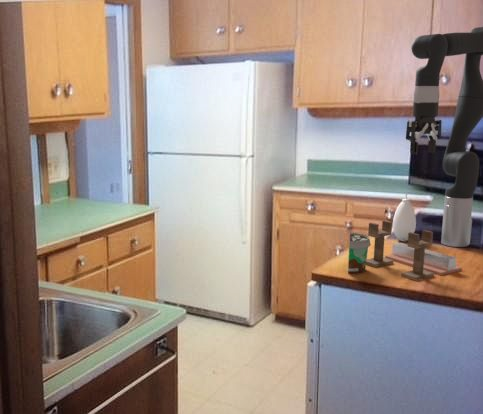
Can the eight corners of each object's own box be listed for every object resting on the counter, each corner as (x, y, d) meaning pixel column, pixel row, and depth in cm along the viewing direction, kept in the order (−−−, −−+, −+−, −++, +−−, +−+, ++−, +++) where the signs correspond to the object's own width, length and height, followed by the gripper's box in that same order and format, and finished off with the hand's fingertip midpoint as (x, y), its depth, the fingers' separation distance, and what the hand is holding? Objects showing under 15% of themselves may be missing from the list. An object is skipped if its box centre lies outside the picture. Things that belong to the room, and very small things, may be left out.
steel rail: (399, 252, 178) (400, 242, 178) (455, 269, 161) (456, 257, 161) (392, 254, 176) (392, 243, 176) (447, 270, 159) (448, 259, 159)
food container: (369, 276, 156) (371, 242, 154) (347, 275, 157) (349, 241, 155) (368, 264, 167) (370, 233, 166) (348, 263, 169) (349, 232, 167)
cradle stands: (380, 259, 173) (383, 219, 171) (433, 276, 157) (437, 232, 154) (363, 263, 169) (365, 222, 166) (415, 280, 152) (418, 235, 150)
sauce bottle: (418, 242, 195) (422, 193, 192) (399, 243, 193) (402, 194, 190) (407, 237, 202) (410, 190, 199) (388, 238, 201) (391, 190, 197)
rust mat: (405, 253, 180) (406, 251, 180) (461, 270, 163) (462, 267, 163) (385, 258, 175) (385, 255, 175) (440, 275, 158) (440, 272, 157)
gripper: (430, 101, 176) (427, 151, 179) (401, 101, 168) (398, 153, 172) (450, 101, 170) (446, 153, 173) (421, 101, 162) (417, 155, 165)
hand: (422, 153), depth 172 cm, fingers open, 8 cm apart
